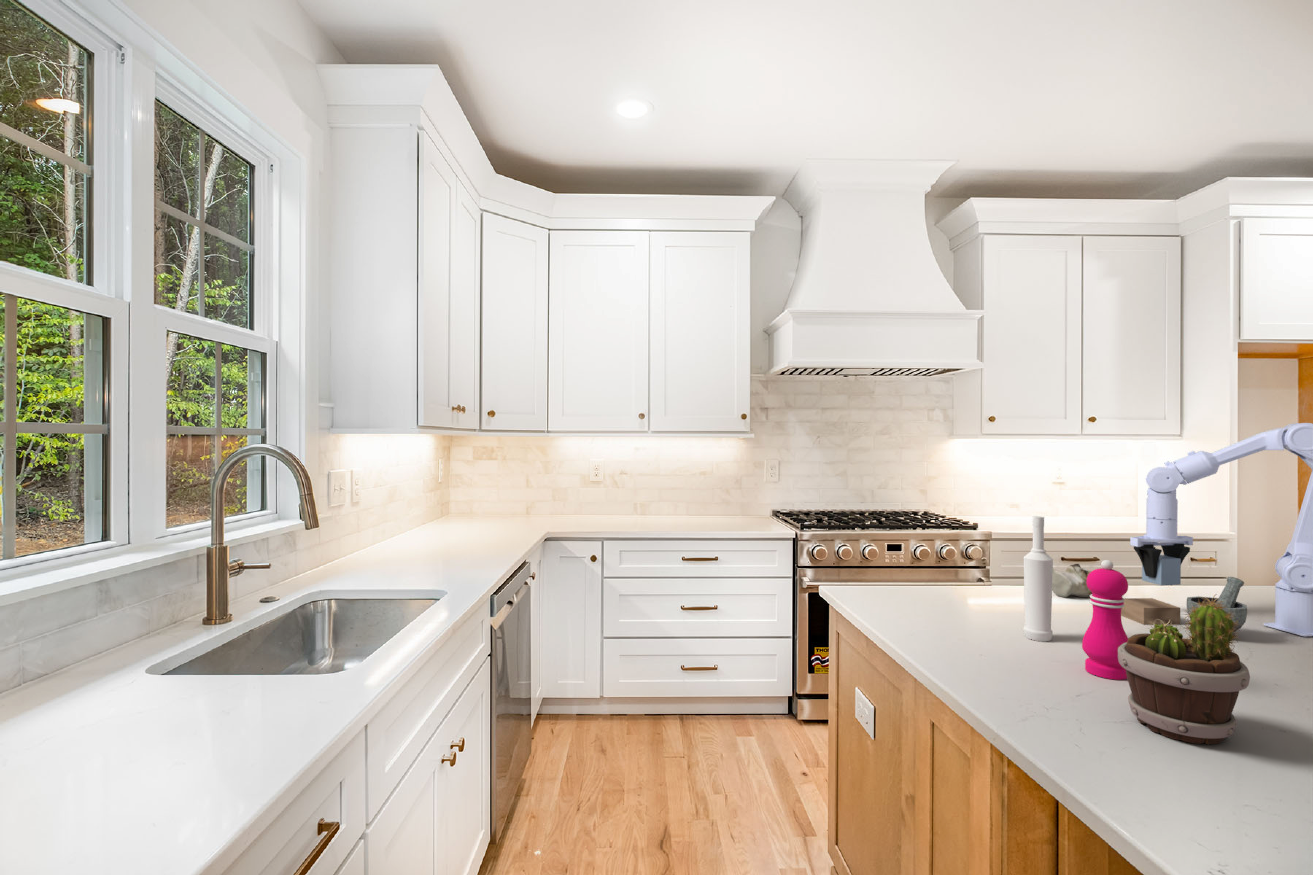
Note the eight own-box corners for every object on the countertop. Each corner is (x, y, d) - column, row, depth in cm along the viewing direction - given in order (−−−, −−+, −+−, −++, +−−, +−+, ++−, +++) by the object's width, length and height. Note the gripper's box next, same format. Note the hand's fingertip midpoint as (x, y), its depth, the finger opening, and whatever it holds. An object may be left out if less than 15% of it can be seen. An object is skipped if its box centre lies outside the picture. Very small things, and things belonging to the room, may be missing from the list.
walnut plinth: (1152, 615, 148) (1152, 598, 148) (1180, 625, 140) (1180, 607, 140) (1117, 615, 148) (1117, 598, 148) (1143, 625, 140) (1143, 607, 140)
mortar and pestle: (1221, 644, 127) (1221, 584, 127) (1174, 630, 136) (1174, 574, 136) (1265, 640, 129) (1265, 581, 129) (1216, 626, 138) (1216, 571, 138)
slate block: (1160, 579, 152) (1161, 554, 152) (1180, 584, 147) (1180, 558, 147) (1142, 580, 151) (1142, 555, 151) (1161, 585, 147) (1161, 559, 146)
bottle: (1044, 634, 134) (1045, 515, 133) (1057, 642, 128) (1058, 518, 128) (1018, 633, 134) (1019, 514, 134) (1030, 641, 129) (1031, 518, 129)
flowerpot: (1110, 731, 91) (1110, 591, 90) (1124, 697, 102) (1125, 573, 102) (1249, 767, 81) (1251, 610, 81) (1248, 726, 92) (1249, 588, 92)
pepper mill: (1140, 682, 108) (1141, 565, 108) (1093, 679, 109) (1093, 563, 109) (1119, 667, 115) (1119, 556, 115) (1074, 664, 116) (1075, 555, 116)
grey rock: (1037, 558, 169) (1092, 560, 170) (1035, 590, 169) (1089, 593, 170) (1065, 567, 158) (1123, 570, 159) (1063, 601, 159) (1120, 604, 159)
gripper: (1173, 515, 154) (1172, 571, 154) (1119, 516, 152) (1118, 573, 152) (1201, 519, 147) (1201, 578, 147) (1145, 520, 145) (1145, 580, 145)
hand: (1161, 576), depth 149 cm, fingers closed on slate block, 5 cm apart
